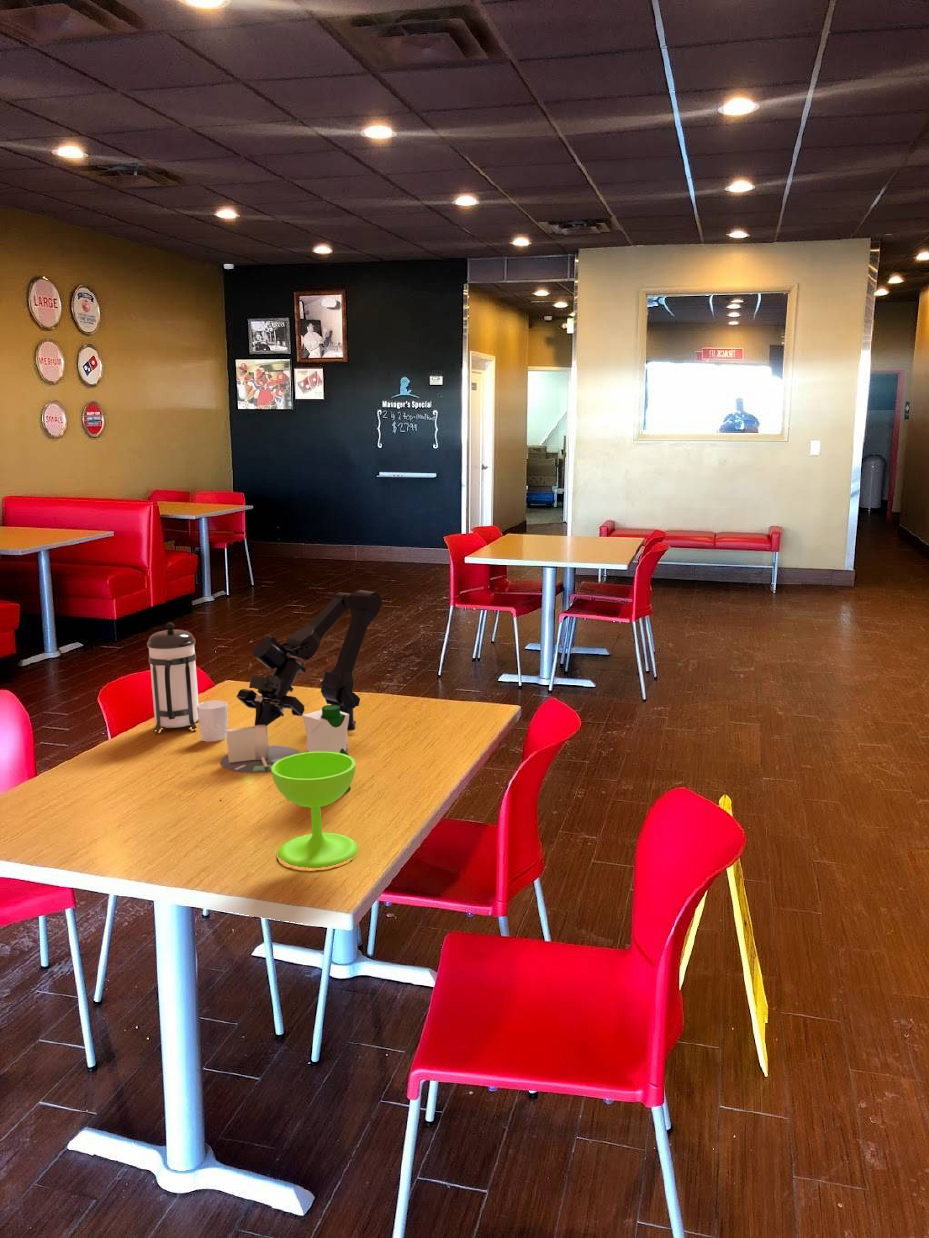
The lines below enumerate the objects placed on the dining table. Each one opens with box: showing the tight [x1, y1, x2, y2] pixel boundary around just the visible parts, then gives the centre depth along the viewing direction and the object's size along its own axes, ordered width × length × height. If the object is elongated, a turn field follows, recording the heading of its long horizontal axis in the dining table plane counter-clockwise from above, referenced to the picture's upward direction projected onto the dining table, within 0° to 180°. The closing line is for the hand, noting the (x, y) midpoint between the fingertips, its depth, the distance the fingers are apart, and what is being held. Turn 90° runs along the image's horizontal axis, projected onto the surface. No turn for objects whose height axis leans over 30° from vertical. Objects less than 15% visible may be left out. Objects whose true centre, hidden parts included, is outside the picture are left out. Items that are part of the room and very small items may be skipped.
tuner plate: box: [219, 745, 302, 774], centre depth 239 cm, size 20×20×1 cm
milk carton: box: [301, 704, 352, 791], centre depth 218 cm, size 9×9×20 cm
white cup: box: [197, 699, 229, 742], centre depth 256 cm, size 8×8×10 cm
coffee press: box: [146, 622, 199, 731], centre depth 265 cm, size 17×16×30 cm
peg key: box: [226, 724, 269, 770], centre depth 233 cm, size 10×12×8 cm
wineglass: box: [271, 751, 359, 868], centre depth 185 cm, size 16×16×18 cm
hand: (256, 731), depth 242 cm, fingers closed
